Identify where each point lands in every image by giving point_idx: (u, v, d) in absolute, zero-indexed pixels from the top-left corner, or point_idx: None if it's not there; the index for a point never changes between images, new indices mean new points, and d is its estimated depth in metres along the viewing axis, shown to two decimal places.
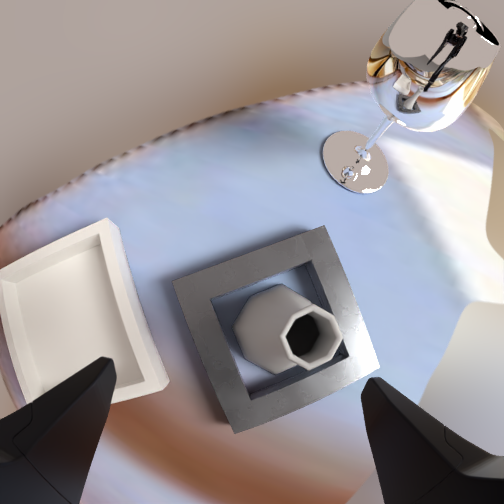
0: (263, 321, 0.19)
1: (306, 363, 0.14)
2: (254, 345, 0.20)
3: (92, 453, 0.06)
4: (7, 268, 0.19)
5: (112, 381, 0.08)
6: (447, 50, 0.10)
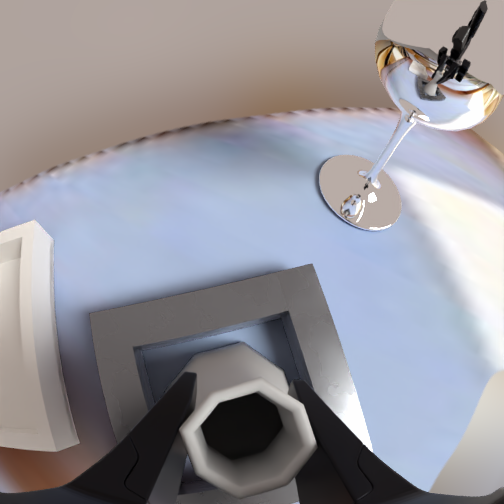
0: None
1: (234, 487, 0.05)
2: None
3: (181, 474, 0.06)
4: None
5: (195, 396, 0.08)
6: None
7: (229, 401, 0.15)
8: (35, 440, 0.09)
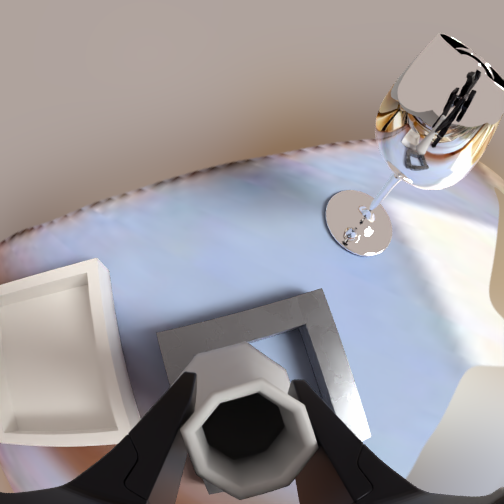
0: None
1: (235, 487, 0.05)
2: None
3: (181, 474, 0.06)
4: None
5: (195, 396, 0.08)
6: (458, 98, 0.10)
7: (231, 401, 0.15)
8: (115, 435, 0.15)
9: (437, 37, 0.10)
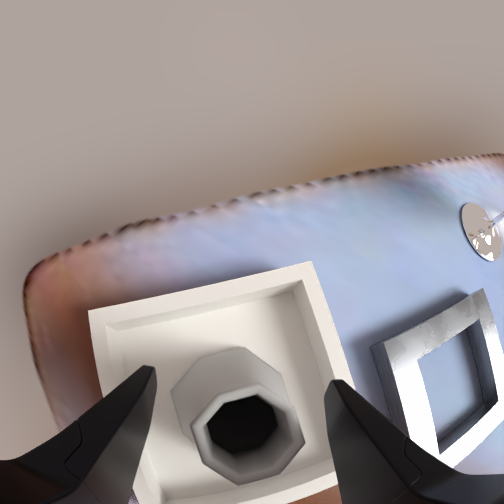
0: (200, 393, 0.12)
1: (234, 474, 0.06)
2: (188, 422, 0.12)
3: (137, 465, 0.06)
4: (120, 308, 0.15)
5: (154, 390, 0.08)
6: None
7: (230, 401, 0.16)
8: None
9: None
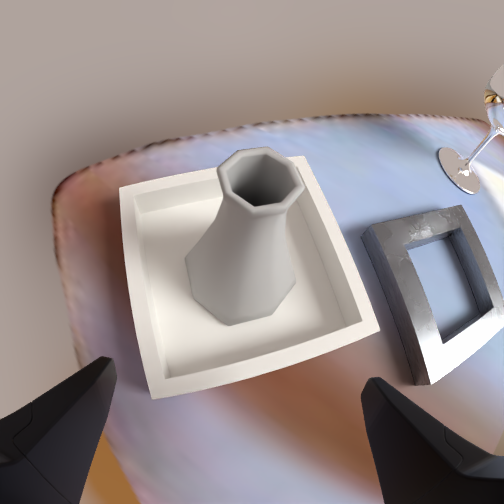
0: None
1: (250, 204, 0.10)
2: (202, 261, 0.16)
3: (92, 453, 0.06)
4: (148, 183, 0.19)
5: (112, 381, 0.08)
6: None
7: None
8: (360, 328, 0.16)
9: None
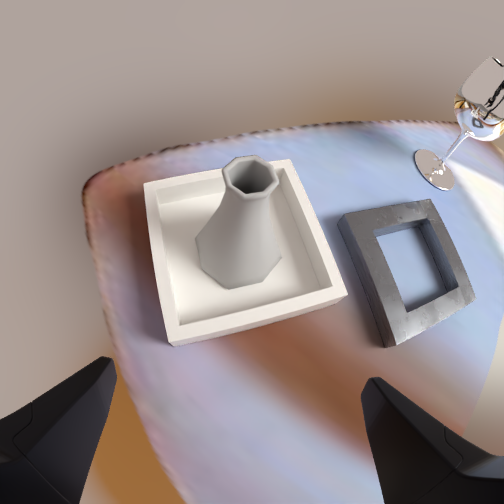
0: None
1: (242, 192, 0.16)
2: (209, 237, 0.22)
3: (92, 453, 0.06)
4: (167, 180, 0.25)
5: (112, 381, 0.08)
6: (502, 90, 0.18)
7: None
8: (330, 291, 0.22)
9: (490, 58, 0.17)
